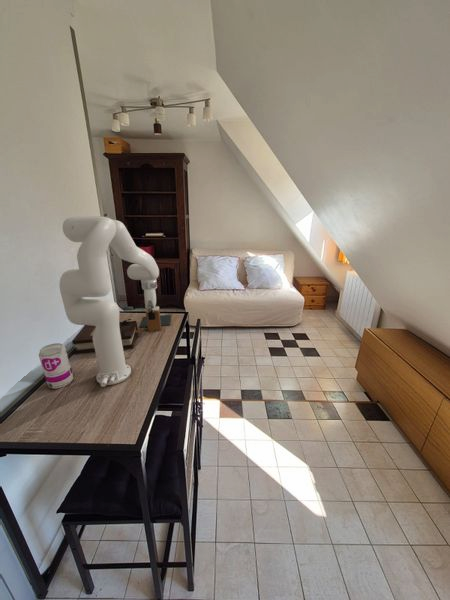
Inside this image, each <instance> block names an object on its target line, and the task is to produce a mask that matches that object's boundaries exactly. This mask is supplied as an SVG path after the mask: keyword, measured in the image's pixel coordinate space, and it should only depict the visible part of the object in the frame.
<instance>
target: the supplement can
mask: <svg viewBox="0 0 450 600" xmlns="http://www.w3.org/2000/svg"><path fill="white" fill-rule="evenodd" d="M38 358H39V361H40V364H41V368H42V371H43V374H44V377H45V380H46V384H47V387H49V388H50V389H54V390H57V389H61V388H65V387H66V386H68V385H69V384H71V382H72V381H73V380H74V375H73V371H72V367H71V364H70V360H69V355H68V352H67V348H66V346H65V345H63V344H62V343H59V342H57V343H55V342H54V343H51V344H47V345H45V346H43V347H41V348H40V350H39V353H38Z"/></svg>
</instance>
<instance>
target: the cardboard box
mask: <svg viewBox="0 0 450 600" xmlns="http://www.w3.org/2000/svg"><path fill="white" fill-rule="evenodd" d="M151 309H152V310H153V308H151ZM154 312H155V320H149V317H148V308H145V317H146V318H147V325H148V327H147V331H148V332H157V331H158V332H159V331H161V330H162V326H161V319H160V316H161V313H160V306H159V305H158V306H157V305H156V307H154Z"/></svg>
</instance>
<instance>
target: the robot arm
mask: <svg viewBox="0 0 450 600" xmlns="http://www.w3.org/2000/svg"><path fill="white" fill-rule="evenodd" d="M62 232H63V234H64V236H65V237H66V238H67V239H68V240H69V241H71V242H73V243H81V244H80V246H79V248H78V250H77V254H76V259H77V266H78V268H75V269H74V268H73V269H68V270H66V271H64V272H63V273H62V274H61V276H60V278H59V284H58V285H59V291H60V297H61V299H62V300H61V301H62V303H63V307H64V312H65V314H66V317H67V320H68V321H69V322H70V323H71V324H74V325H78V326H84V325H91V326H96V331H95V332H94V334H93V344H94V348H95V352H94V353H95V357H96V361H97V367H98V373H97V374H96V376H95V378H96V382H97V383H98V384H100V387H102V388H105V387H106V386H113V385H116V384H119V383H121V382H123V381H125V380H127V379H128V378H129V377H130V375H131V374H132V369H131V368H132V367H131V366H130V365H128V364H126V359H125V351H124V349H123V345H122V340H121V334H120V327H119V322H120V314H121V313H120V312H121V311H120V307H119V305H118V303H116V302H115V301H114V300H110V299H105V298H104V299H101V298H102V297H106V296H107V295H108V294H109V293H110V291H111V281H110V276H109V270H108V262H107V251H108V248H109V247H110V246H111V247H112V249H113V251H114V252H115V253H116V255H117V256H118V257H119V258H120V259H121V260H123V261H125V262H128V263H132V264H130V265H129V266H128V267H127V269H126V274H127V277H128V278H129V279H131V280H134V281H140V282H141V289H142V290H143V297H144V308H145V309H146V308H148V317H149V320H155V312H154V307H156V306H157V293H156V289H157V288H158V282H157V279H158V278H159V277H160V268H159V267H158V264H157V262H156V260H155V258H154V257H153V256H152V255H151V254H149V253H148V252H147V251H145V250H144V249H142V248H140V247H138V246H137V245H136V243H135V241H134V239H133V237H132V236H131V234H130V232H129V231H128V229H127V227H126V226H125V224H124V223H123V222H122V221H120V220H117V219H112V218H110V217H108V216H98V215H97V216H95V215H91V216H90V215H89V216H70V217H67V218H66V219H64V221H63V224H62ZM151 308H153V310H152V309H151Z"/></svg>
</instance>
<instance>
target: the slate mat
mask: <svg viewBox="0 0 450 600" xmlns="http://www.w3.org/2000/svg"><path fill="white" fill-rule="evenodd" d="M160 319H161V327H167V326H171V314H163V315H160ZM139 327H140V329H141V328H148V325H147V318H146V316H143V318H142V321H141V324H140V326H139Z"/></svg>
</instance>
